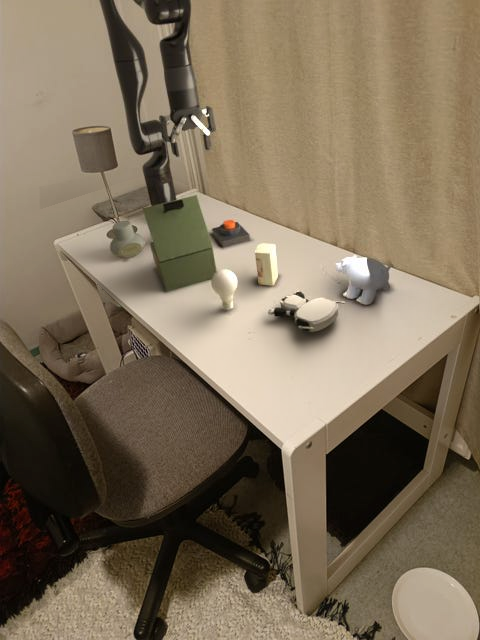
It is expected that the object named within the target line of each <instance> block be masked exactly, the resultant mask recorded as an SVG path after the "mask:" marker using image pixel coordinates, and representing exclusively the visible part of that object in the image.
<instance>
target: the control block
mask: <svg viewBox="0 0 480 640" xmlns="http://www.w3.org/2000/svg"><path fill="white" fill-rule="evenodd" d="M211 232H212V236H213V237H214V238H215V239H216V240H217V242H218V243H219V244H220V246H221V247H222V248H223V249H224V248H228V247H232V246H235V245H238V244H239V245H240V244H243V243H246V242H249V241H251V237H250V233H249V232H248V231H247V230H246V229H245V228H244V227H243V226H242V225H241V224H240V223H239V222H238V221H235V228H233V229H224V224H223V223H222V224H220V225H219V226H216V227H212V228H211Z"/></svg>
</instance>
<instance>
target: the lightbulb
mask: <svg viewBox="0 0 480 640" xmlns="http://www.w3.org/2000/svg"><path fill="white" fill-rule="evenodd" d="M216 271H217V272H216V273H215V274H214V275H213V277H212V279H210V280H211V282H210V283H211V288H212V290H213V291H214V293H215V294H216V295H218V297H219V299H220V301H221V304H222V309H224V310H227V311H229V310H232V309H233V308H234V301H233V300H234V294H235V292H236V290H237V287H238V277H237V276H236V274H235V273H234V271H231V270H229V269H226V268H224V269H223V268H222V269H219V270H216Z"/></svg>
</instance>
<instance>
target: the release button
mask: <svg viewBox="0 0 480 640" xmlns="http://www.w3.org/2000/svg"><path fill="white" fill-rule="evenodd" d="M235 222H236V221H235V220H234V219H226V220H224V221H223V223H222V224H224V229H233V228H235Z"/></svg>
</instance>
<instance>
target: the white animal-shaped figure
mask: <svg viewBox="0 0 480 640" xmlns="http://www.w3.org/2000/svg"><path fill="white" fill-rule="evenodd" d="M392 267H394V264H393V263H392V264H390V265H388V266H386V265H385V264H384V263H383V262H381V261H380V260H377V259H375V258H370V257H358V258H357V255H355V254H354V255H353V256H351V257H350V256H347V257H344V259H341V261H340V262H339V263H338V262H336V263H335V266H334V268H335V269H336V270H335V272H336V273H337V274H344V275H346V277H347V280H348V281H349V285H348V287H347V290H346V291H345V292H343V294H342V296H343V297H345V298H347V299H350V300H353V299H354V300H355V299H356V300H355V301H356V302H358V303H360V304H362V305H364V306H365V305H366V306H367V305H371V304H372V303H373V302H374V300H375V296H376V293H377V291H381V292H385V291H389V290H390V288H391V286H390V285H391V284H390V283H389V281H390V272H389V271H390V269H391V268H392ZM361 290H362V293H361ZM360 293H361V295H360Z"/></svg>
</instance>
